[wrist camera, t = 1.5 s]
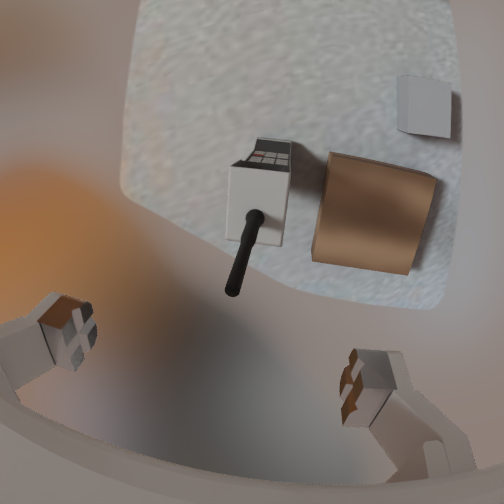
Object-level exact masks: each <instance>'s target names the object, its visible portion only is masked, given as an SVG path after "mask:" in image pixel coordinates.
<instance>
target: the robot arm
mask: <svg viewBox="0 0 504 504" xmlns="http://www.w3.org/2000/svg"><path fill="white" fill-rule="evenodd" d="M92 314H93V308H92V304H91V303H89V302H88V301H84V300H81V299H77V298H74V297H71V296H68V295H63V294H60V293H57V292H51V293H49V294H48V295H47V296H46V297H45V298H44V299H43V300H42V301H41V302H40V303H39V304H38V305H37V306H36V307H35V308H34V309H33V310H32V311H31V312H30V313H29V314H28V315H27V316H26V317H20V318H17V319H14V320H12V321H9V322H6V323H3V324H1V325H0V504H504V462H503V463H500V464H496V465H492V466H489V467H484V468H481V469H477V467H476V463H475V459H474V456H473V453H472V449H471V446H470V443H469V440H468V437H467V435H466V434H465V433H464V432H463V431H461V429H459V428H458V427H457V426H456V425H455V424H454V423H453V422H452V421H451V420H450V419H449V418H448V417H446V416H445V415H444V414H443V413H442V412H441V411H440V410H439V409H438V408H437V407H436V406H435V405H433V404H432V403H431V402H430V401H429V400H428V399H427V398H426V397H425V396H424V395H423V394H421V393H420V392H419V391H418V390H414V388H413V386H412V382H411V379H410V376H409V373H408V370H407V367H406V364H405V360H404V358H403V354H402V353H401V352H400V351H381V350H366V349H355V348H354V349H353V350H352V352H351V354H350V356H349V364H350V365H348V366H347V367H345V368H344V371H343V373H342V376H341V380H340V391H339V392H340V398H341V399H342V400H343V401H344V404H343V406H342V408H341V415H342V426H346V427H347V426H348V427H365V428H366V427H367V428H369V430H370V432H371V433H372V434H373V436H374V437H375V439H376V440H377V441H378V443H379V444H380V446H381V447H382V448H383V450H384V451H385V453H386V454H387V455H388V457H389V458H390V459H391V461H392V462H393V464H394V465H395V466H396V468H397V469H398V471H397V472H396V473H395V474H394V475H392V476H391V477H390V478H389V479H388V480H387V481H386V482H385V483H379V484H357V485H323V484H300V483H286V482H275V481H266V480H258V479H249V478H243V477H236V476H230V475H224V474H218V473H214V472H208V471H204V470H199V469H194V468H190V467H185V466H181V465H177V464H173V463H169V462H166V461H162V460H158V459H155V458H151V457H148V456H145V455H141V454H138V453H135V452H132V451H129V450H126V449H123V448H120V447H117V446H114V445H111V444H109V443H105V442H103V441H100V440H98V439H95V438H92V437H90V436H88V435H85V434H83V433H80V432H78V431H76V430H73V429H71V428H69V427H66V426H64V425H62V424H60V423H58V422H56V421H54V420H51V419H49V418H47V417H45V416H43V415H41V414H39V413H37V412H35V411H33V410H31V409H29V408H28V407H26V406H24V405H22V404H21V401H20V399H19V397H18V396H17V394H16V392H15V390H17V389H19V388H20V387H22V386H23V385H25V384H27V383H29V382H30V381H32V380H34V379H35V378H37V377H39V376H40V375H42V374H44V373H45V372H47V371H49V370H50V369H52V368H54V367H55V365H56V366H59V367H61V368H65V369H67V370H70V371H73V372H76V371H77V369H78V367H79V366H80V365H81V363H82V362H83V361H84V359H85V358H84V353H85V352H87V351H90V350H91V349H92V347H93V346H94V344H95V342H96V338H97V326H96V323H95V321H94V320H93V319H92V317H91V316H92Z"/></svg>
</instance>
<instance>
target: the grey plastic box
mask: <svg viewBox="0 0 504 504" xmlns="http://www.w3.org/2000/svg"><path fill="white" fill-rule="evenodd" d="M397 130H400V131H403V132H406V133H412V134H421V135H430V136H437V137H445V138H450V132H451V83H450V82H445V81H440V80H434V79H429V78H423V77H417V76H410V75H407V76H402V77H397Z"/></svg>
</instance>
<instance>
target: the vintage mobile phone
mask: <svg viewBox="0 0 504 504" xmlns="http://www.w3.org/2000/svg"><path fill="white" fill-rule="evenodd" d="M291 146H292V141H287V140H278V139H269V138H259V137H257V138H256V142H255V146H254V150H253V151H252V152H251V154H250V155H249V156H248V157H247V159H246V160H245V161H242V160H239V161H238V162H236V163H234V164H233V165H231V166H230V167H229V179H228V196H227V213H226V232H225V240H230V241H238V242H241V244H240V247H239V250H238V253H237V256H236V258H235V262H234V264H233V267H232V270H231V273H230V275H229V279H228V281H227V284H226V287H225V292H226V294H227V295H228V296H231V297H235V296H237V295H239V292H240V289H241V285H242V282H243V278H244V275H245V271H246V267H247V264H248V260H249V256H250V253H251V249H252V247H253V246H254V244H262V245H270V246H277V247H282V242H283V235H284V227H285V220H286V212H287V204H288V196H289V188H290V180H291V165H290V161H291Z"/></svg>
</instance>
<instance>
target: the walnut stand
mask: <svg viewBox="0 0 504 504" xmlns="http://www.w3.org/2000/svg"><path fill="white" fill-rule="evenodd" d="M436 181H437V179H435V178H434V177H432V176H431V175H429V174H428V173H425V172H421V171H417V170H413V169H409V168H405V167H401V166H397V165H393V164H388V163H384V162H379V161H375V160H370V159H365V158H361V157H356V156H351V155H345V154H340V153H335V152H329V156H328V162H327V168H326V174H325V180H324V185H323V191H322V196H321V202H320V207H319V212H318V218H317V223H316V228H315V233H314V238H313V243H312V248H311V254H312V261H314V262H320V263H327V264H334V265H340V266H347V267H354V268H360V269H367V270H374V271H381V272H387V273H394V274H401V275H407V276H408V274H409V271H410V268H411V265H412V263H413V260H414V257H415V254H416V251H417V248H418V245H419V242H420V238H421V235H422V232H423V229H424V225H425V222H426V219H427V215H428V212H429V208H430V204H431V201H432V197H433V193H434V189H435V185H436Z"/></svg>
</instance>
